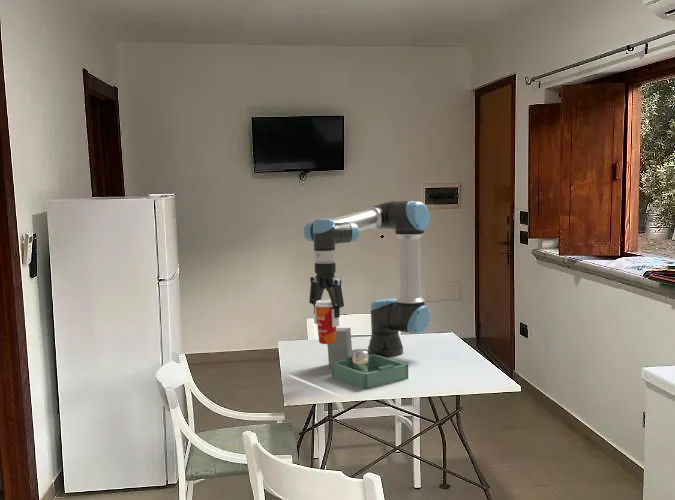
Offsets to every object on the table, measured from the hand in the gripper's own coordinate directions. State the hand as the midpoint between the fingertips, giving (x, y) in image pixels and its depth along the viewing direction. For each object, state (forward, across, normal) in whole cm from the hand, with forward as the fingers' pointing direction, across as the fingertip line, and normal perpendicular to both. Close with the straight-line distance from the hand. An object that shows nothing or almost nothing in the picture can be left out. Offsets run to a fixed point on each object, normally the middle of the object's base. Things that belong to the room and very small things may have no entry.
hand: (327, 324), depth 235 cm
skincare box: (+22, -12, +18) cm, 31 cm away
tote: (+22, +7, +14) cm, 27 cm away
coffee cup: (+6, 0, 0) cm, 6 cm away
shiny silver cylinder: (+21, +2, +15) cm, 26 cm away
